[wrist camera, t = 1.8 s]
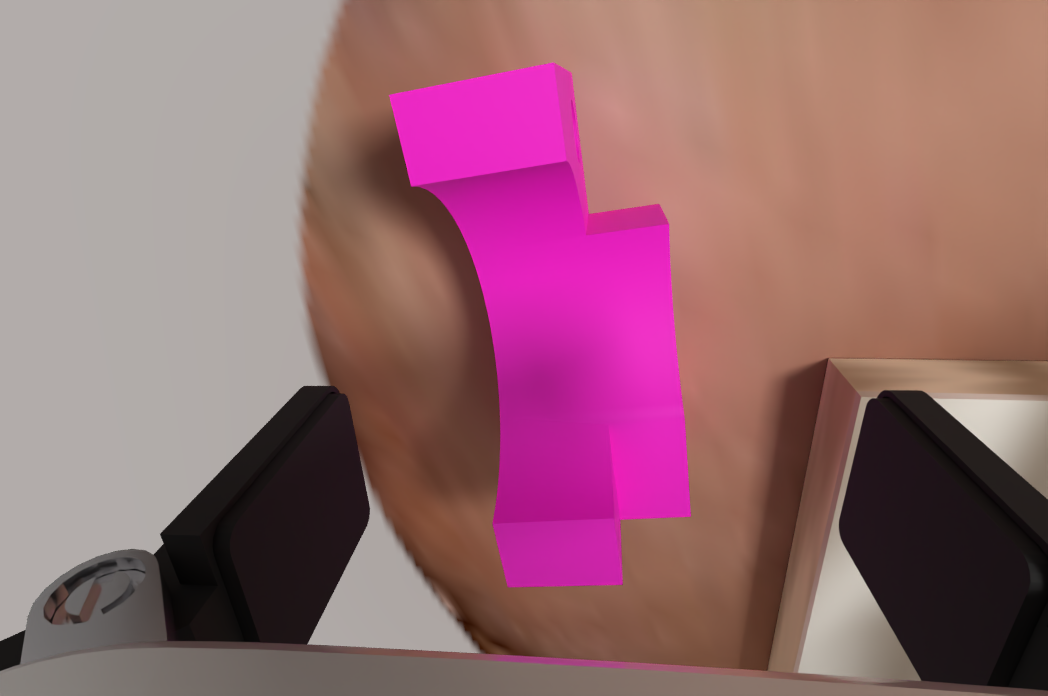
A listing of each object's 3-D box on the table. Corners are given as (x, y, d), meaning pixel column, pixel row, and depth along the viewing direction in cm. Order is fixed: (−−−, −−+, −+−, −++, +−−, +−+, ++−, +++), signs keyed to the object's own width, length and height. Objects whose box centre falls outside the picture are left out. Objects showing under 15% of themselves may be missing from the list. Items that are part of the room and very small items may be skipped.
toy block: (676, 445, 24) (704, 582, 17) (533, 454, 25) (507, 587, 18) (648, 58, 18) (674, 38, 11) (464, 93, 19) (389, 95, 13)
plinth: (1127, 362, 20) (1209, 404, 17) (975, 707, 28) (1015, 774, 25) (828, 358, 21) (861, 397, 19) (763, 688, 29) (780, 749, 26)
